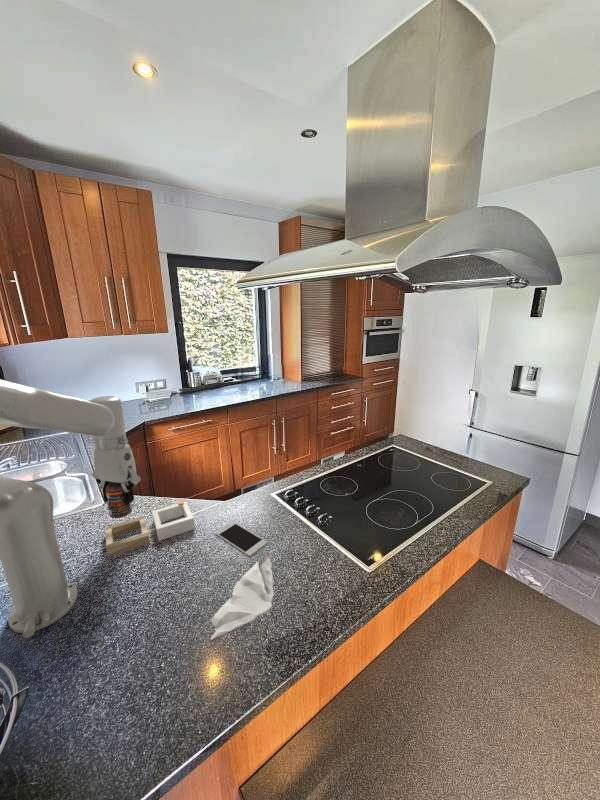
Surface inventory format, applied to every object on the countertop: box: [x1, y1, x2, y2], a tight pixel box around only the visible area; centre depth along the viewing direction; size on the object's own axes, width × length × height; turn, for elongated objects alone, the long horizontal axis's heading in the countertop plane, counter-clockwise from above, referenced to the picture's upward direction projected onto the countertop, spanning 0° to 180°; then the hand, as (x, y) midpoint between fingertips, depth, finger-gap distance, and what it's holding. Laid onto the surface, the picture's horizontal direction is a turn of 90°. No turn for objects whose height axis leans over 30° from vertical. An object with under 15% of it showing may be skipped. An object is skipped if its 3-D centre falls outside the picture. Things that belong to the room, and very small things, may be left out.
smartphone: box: [215, 521, 268, 558], centre depth 97 cm, size 7×16×1 cm, turn 51°
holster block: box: [105, 515, 151, 558], centre depth 96 cm, size 11×11×3 cm
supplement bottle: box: [106, 481, 133, 519], centre depth 92 cm, size 6×6×11 cm
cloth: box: [210, 555, 274, 641], centre depth 78 cm, size 26×14×2 cm, turn 144°
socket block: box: [151, 500, 196, 542], centre depth 103 cm, size 11×11×5 cm
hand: (119, 500), depth 93 cm, fingers closed on supplement bottle, 6 cm apart
